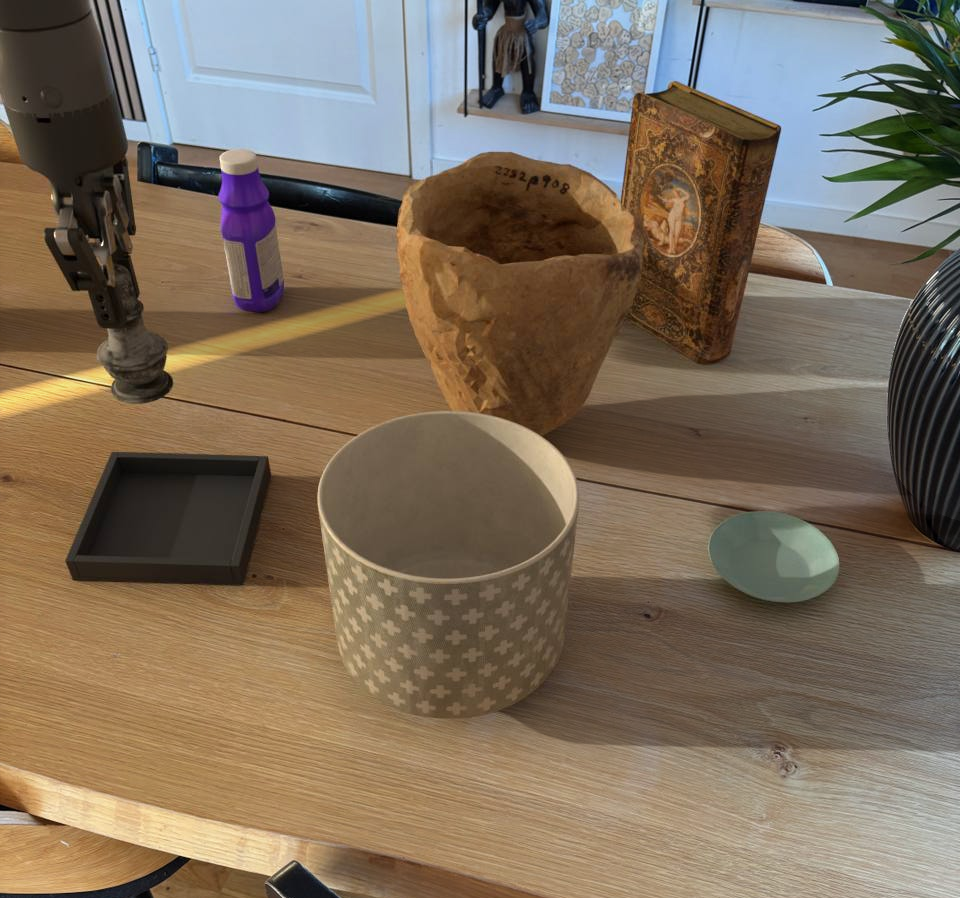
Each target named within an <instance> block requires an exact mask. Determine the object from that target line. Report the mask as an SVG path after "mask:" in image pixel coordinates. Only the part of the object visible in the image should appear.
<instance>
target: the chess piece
mask: <svg viewBox="0 0 960 898" xmlns="http://www.w3.org/2000/svg"><path fill="white" fill-rule="evenodd" d="M100 266H101V265H100ZM113 267H114V272H115V277H116V282H117V284H118V288H119V292H120V295H121V299H122V303H123V306H124V310H125V313H126V317H127V323H126V325H125V327H124V328H122V329H106V330H107V334H108V338H107V339H106V340H104V341H102V343H101V344H100V345H99V346H98V348H97V351H96V359H97V361H98V363H99V364H100V365H101V366H103V369H105V371H106V372H107V374H108V375H109V376H110V377H111V378H112V379H114V380H113V382H111V386H110V393H111V394H112V397H113V398H114V399H116V400H117V401H119V402H122V403H125V404H131V405H142V404H150V403H153V402H155V401H159V400H160V399H162V398H164V397H165V396H167V394H169V393H170V392H171V390H172V389H173V386H174V379H173V376H172V375H171V374H170V373H169V372H168V371H166V370H165V367H166V364H167V359H168V358H167V354H168V351H169V345H168V342H167V340H166V339H165V338H164V337H162V335H159V334H158V333H155V332H152V331H148V329H147V327H146V325H145V321H144V318H143V314H142V313H143V312H144V309H145V306H144V303H143V302H142V300H139V299H137V298H136V294H135V290H134V287H133V283H132V279H131V275H130V273H129V271H128V270H127V269H126V268H125V267H124V266H122V265H119V264H115V263H113ZM101 268H102V266H101Z"/></svg>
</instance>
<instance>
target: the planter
mask: <svg viewBox="0 0 960 898" xmlns="http://www.w3.org/2000/svg"><path fill="white" fill-rule="evenodd" d="M316 497H317V510H318V517H319V525H320V532H321V539H322V545H323V552H324V560H325V567H326V574H327V582H328V588H329V596H330V602H331V609H332V616H333V624H334V631H335V638H336V644H337V649H338V653H339V655H340V659H341V660H342V663H343V665H344V668H345V669H346V670H347V672H348V674H349V675H350V676H351V677H352V678H353V680H354V681H355V682H356V683H357V684H358V685H359V686H360V687H361V688H362V690H364V691H365V692H366V693H368V694H369V695H371V697H373V698H375V699H376V700H378V701H379V702H382V703H383V704H385V705H387V706H389V707H391V708H394V709H396V710H399V711H401V712H405V713H408V714H411V715H416V716H420V717H425V718H432V719H446V720H447V719H449V720H450V719H451V720H452V719H466V718H474V717H479V716H483V715H488V714H492V713H495V712H497V711H500V710H503V709H506V708H507V707H511V706H512V705H515V704H516V703H518V702H520V701H522V700H523V699H524V698H526V697H527V696H529V695H531V694H532V693H534V692H535V690H536V689H537V688H539V687H540V686H541V685H542V684H543V683H544V682H545V681H546V680H547V678H548V677H549V676H550V675H551V673H552V672H553V670H554V668H555V666H557V663H558V661H559V659H560V656H561V654H562V650H563V646H564V641H565V631H566V625H567V624H566V622H567V615H568V605H569V596H570V590H571V589H570V588H571V587H570V586H571V579H572V569H573V562H574V561H573V560H574V552H575V543H576V533H577V525H578V517H579V508H580V489H579V483H578V479H577V476H576V474H575V471H574V469H573V467H572V465H571V463H570V462H569V460H567V458H566V456H564V454H563V453H562V452H561V451H560V450H559V449H558V448H557V446H555V445H553V444H552V443H551V441H549V440H548V439H546V438H545V437H544V436H540V435H539V434H537V433H535V432H534V431H532V430H530V429H528V428H526V427H524V426H522V425H519V424H517V423H514V422H512V421H509V420H506V419H502V418H499V417H495V416H491V415H486V414H480V413H473V412H463V411H452V410H439V411H436V410H435V411H427V412H419V413H412V414H408V415H407V414H406V415H403V416H399V417H395V418H393V419H390V420H386V421H383V422H381V423H378V424H377V425H374V426H373V427H370V428H368V429H366V430H364V431H362V432H361V433H359V434H358V435H356V436H354V437H353V438H351V439H349V441H347V442H346V443H345V444H344V445H342V446H341V447H340V449H338V451H336V453H334V455H333V456H332V457H331V459H330V460H329V462H328V463H327V464H326V466H325V468H324V470H323V471H322V474H321V476H320V480H319V483H318V487H317V496H316Z"/></svg>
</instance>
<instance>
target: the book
mask: <svg viewBox="0 0 960 898" xmlns="http://www.w3.org/2000/svg"><path fill="white" fill-rule="evenodd" d="M781 132H782V126H781V125H780V124H777V123H775V122H773V121H770V120H768V119H766V118H764V117H761V116H759V115H757V114H754V113H752V112H750V111H747V110H745V109H742V108H740V107H737V106H736V105H733V104H731V103H729V102H726V101H723V100H721V99H719V98H717V97H715V96H713V95H710V94H708V93H705V92H702V91H700V90H698V89H695V88H693V87H691V86H690V85H689V86H688V85H687V84H684V83H682V82H680V81H677V80H673V81H671V82H669V84H668V85H667V89H665V90H662V91H657V92H650V93H645V92H642V91H638V92H637V93H635V94H634V96H633V99H632V107H631V114H630V123H629V131H628V138H627V148H626V155H625V162H624V163H625V164H624V172H623V179H622V187H621V195H620V202H621V204H622V205H623V206H624V207H625V208H626V210H627V211H628V212H629V213H631V214H633V215H634V216H636V217H637V218H638V219H639V221H640V222H641V224H642V227H643V234H644V240H645V250H644V253H643V270H642V273H641V279H640V283H639V286H638V290H637V293H636V295H635V298H634V301H633V304H632V306H631V308H630V310H629V312H628V314H627V316H626V317H625V320H627V321H629V322H631V323H632V324H634V325H635V326H637V327H639V328H640V329H642V330H643V331H646V332H647V333H648V334H650V335H652V336H653V337H655V338H656V339H658V340H659V341H661V342H663V343H665V344H666V345H668V346H669V347H670V348H673V349H674V350H675V351H678V352H679V353H681V354H682V355H684V356H686V357H687V358H689V359H690V360H692V361H694V362H695V363H697V364H700V365H712V364H716V363H717V364H718V363H719V362H721V361H724V360H726V359H727V358H728V357H729V356H730V355H731V353H732V348H733V344H734V339H735V335H736V331H737V326H738V323H739V317H740V313H741V309H742V304H743V299H744V295H745V290H746V287H747V282H748V278H749V273H750V269H751V265H752V261H753V256H754V251H755V246H756V243H757V238H758V233H759V229H760V224H761V220H762V217H763V212H764V207H765V203H766V199H767V195H768V189H769V185H770V180H771V177H772V172H773V168H774V164H775V160H776V159H775V158H776V155H777V150H778V145H779V141H780V138H781Z"/></svg>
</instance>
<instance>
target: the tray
mask: <svg viewBox="0 0 960 898" xmlns="http://www.w3.org/2000/svg"><path fill="white" fill-rule="evenodd" d="M269 460H270V459H269V456H268V455H247V454H246V455H245V454H243V455H242V454H213V453H212V454H211V453H210V454H205V453H174V452H173V453H172V452H139V451H138V452H137V451H135V452H134V451H111V452H110V455H109V458H108V460H107V462H106V464H105V467H104V469H103V471H102V474H101V476H100V477H99V480H98V483H97V485H96V487H95V490H94V492H93V495H92V497H91V498H90V502H89V504H88V506H87V508H86V511H85V513H84V515H83V518H82V521H81V523H80V524H79V527H78V529H77V532H76V535H75V536H74V539H73V541H72V543H71V546H70V548H69V550H68V552H67V555H66V557H65V560H64V562H65V564H66V568H67V569H68V572H69V574H70V576H71V579H72V581H79V582H81V581H84V582H85V581H86V582H114V583H115V582H117V583H118V582H119V583H147V584H149V583H150V584H151V583H152V584H153V583H154V584H183V585H184V584H186V585H188V584H189V585H221V586H244V585H245V581H246V578H247V574H248V569H249V565H250V561H251V559H252V558H251V557H252V553H253V549H254V547H255V546H254V545H255V542H256V538H257V534H258V530H259V527H260V526H259V525H260V522H261V518H262V514H263V511H264V507H265V502H266V499H267V495H268V492H269V491H268V490H269V487H270V483H271V480H272V471H271V466H270V461H269Z"/></svg>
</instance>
